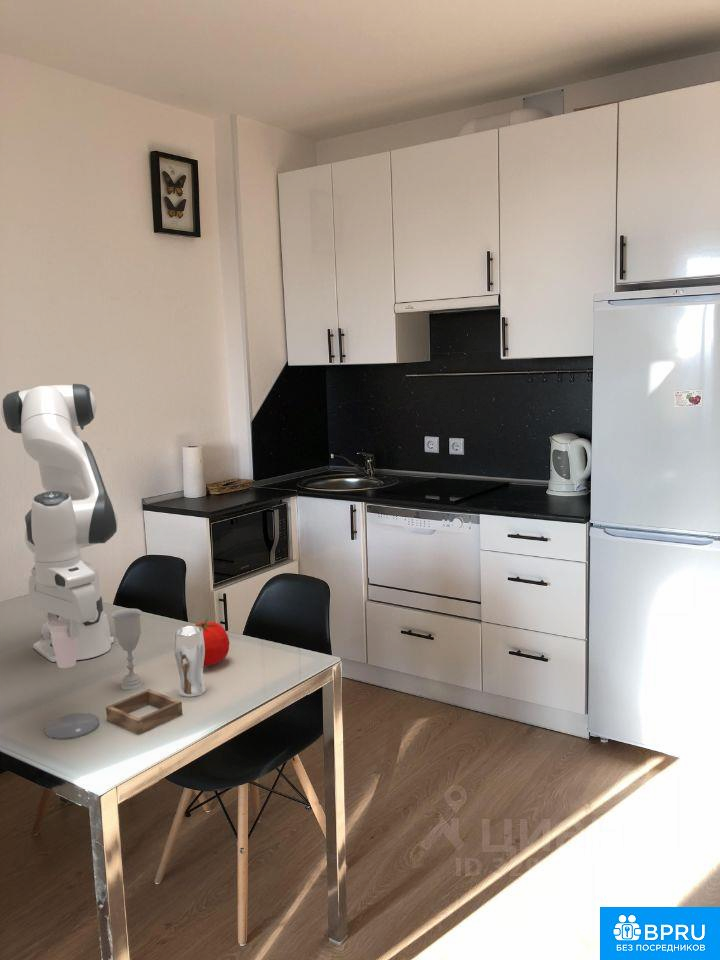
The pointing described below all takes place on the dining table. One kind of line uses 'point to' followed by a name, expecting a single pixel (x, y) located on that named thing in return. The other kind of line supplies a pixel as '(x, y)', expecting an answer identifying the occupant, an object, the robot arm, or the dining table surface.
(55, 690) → the dining table surface
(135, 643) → the chalice
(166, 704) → the wooden serving tray
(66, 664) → the smoothie
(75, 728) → the disc
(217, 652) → the tomato
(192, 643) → the beer glass
